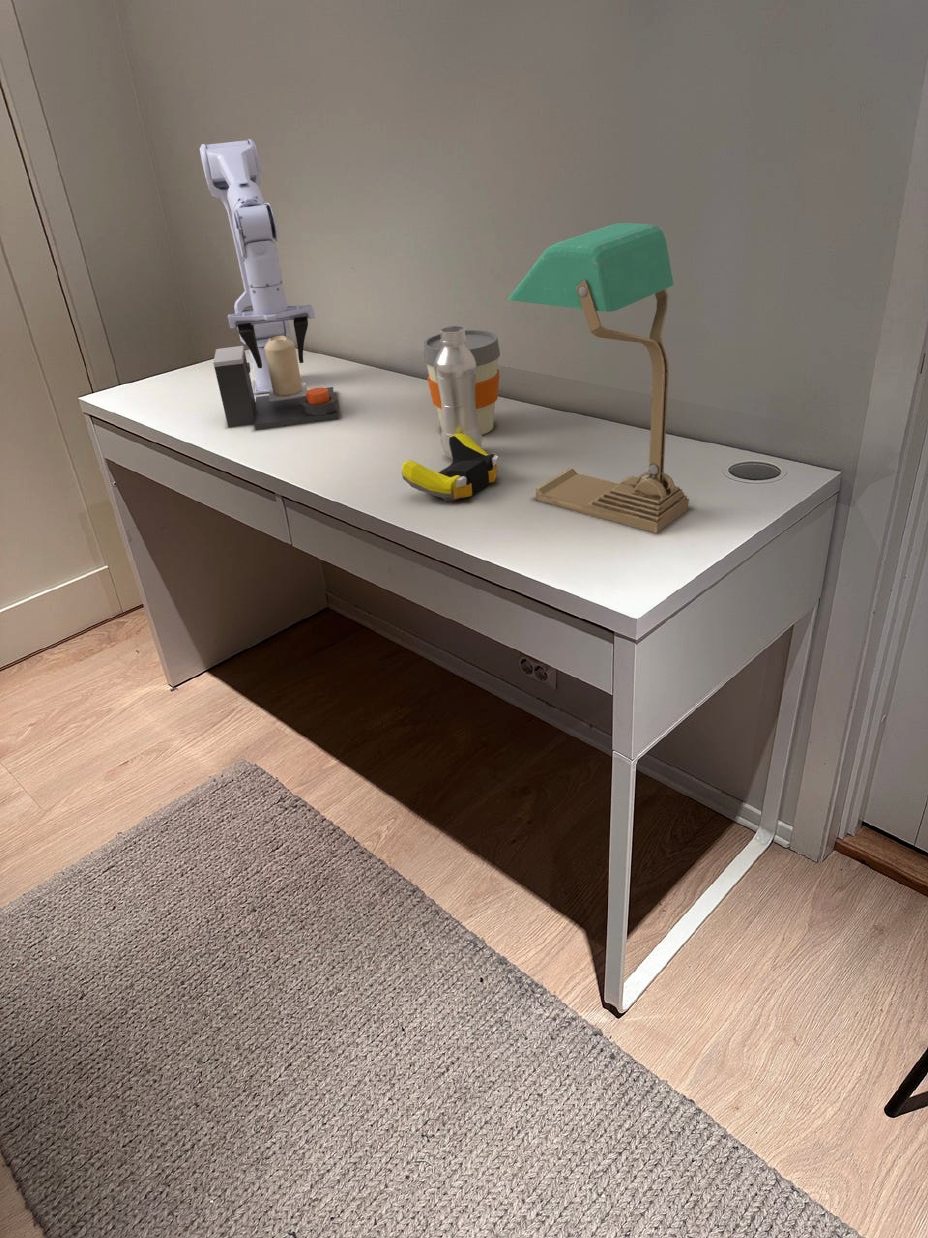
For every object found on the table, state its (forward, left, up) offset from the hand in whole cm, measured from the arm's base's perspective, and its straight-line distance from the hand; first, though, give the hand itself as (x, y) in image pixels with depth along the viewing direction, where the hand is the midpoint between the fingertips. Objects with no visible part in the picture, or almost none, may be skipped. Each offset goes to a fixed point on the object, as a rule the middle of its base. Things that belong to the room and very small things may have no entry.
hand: (280, 363), depth 155 cm
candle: (-7, 0, -7) cm, 10 cm away
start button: (-1, +6, -8) cm, 10 cm away
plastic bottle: (+28, +27, -11) cm, 40 cm away
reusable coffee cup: (+16, +30, -11) cm, 36 cm away
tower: (-6, -4, -10) cm, 13 cm away
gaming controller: (+39, +24, -11) cm, 47 cm away
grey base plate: (-5, +1, -10) cm, 12 cm away
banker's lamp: (+52, +43, -11) cm, 68 cm away
